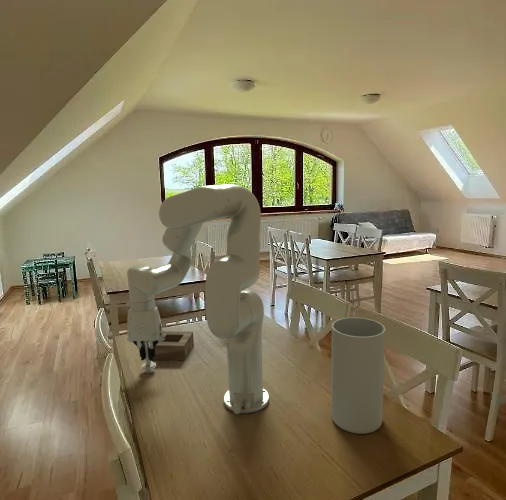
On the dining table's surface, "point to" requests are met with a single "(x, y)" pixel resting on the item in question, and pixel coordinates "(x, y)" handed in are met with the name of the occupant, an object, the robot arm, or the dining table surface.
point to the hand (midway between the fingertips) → (148, 358)
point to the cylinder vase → (357, 374)
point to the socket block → (174, 346)
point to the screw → (147, 360)
